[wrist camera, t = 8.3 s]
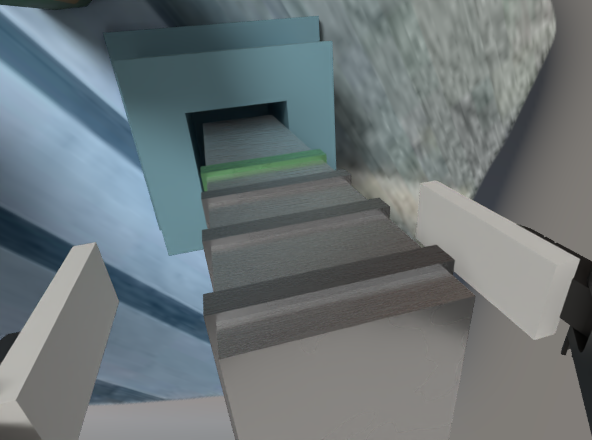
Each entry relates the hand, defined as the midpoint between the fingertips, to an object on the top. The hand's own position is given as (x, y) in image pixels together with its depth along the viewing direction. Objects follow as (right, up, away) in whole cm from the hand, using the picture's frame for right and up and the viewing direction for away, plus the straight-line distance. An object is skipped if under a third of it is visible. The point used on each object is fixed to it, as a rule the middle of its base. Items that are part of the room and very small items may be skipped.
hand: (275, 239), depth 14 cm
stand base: (-5, +10, +20) cm, 23 cm away
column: (-3, +6, +13) cm, 14 cm away
